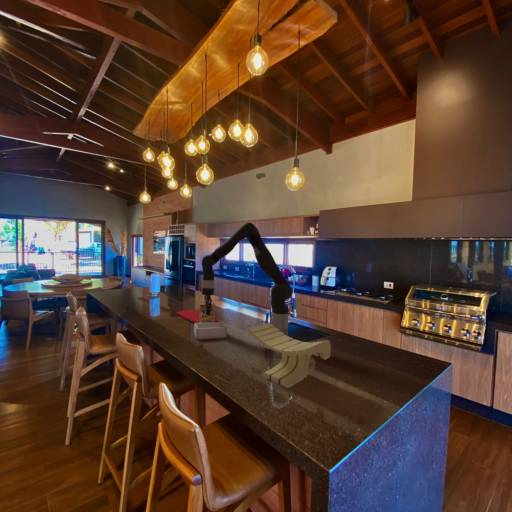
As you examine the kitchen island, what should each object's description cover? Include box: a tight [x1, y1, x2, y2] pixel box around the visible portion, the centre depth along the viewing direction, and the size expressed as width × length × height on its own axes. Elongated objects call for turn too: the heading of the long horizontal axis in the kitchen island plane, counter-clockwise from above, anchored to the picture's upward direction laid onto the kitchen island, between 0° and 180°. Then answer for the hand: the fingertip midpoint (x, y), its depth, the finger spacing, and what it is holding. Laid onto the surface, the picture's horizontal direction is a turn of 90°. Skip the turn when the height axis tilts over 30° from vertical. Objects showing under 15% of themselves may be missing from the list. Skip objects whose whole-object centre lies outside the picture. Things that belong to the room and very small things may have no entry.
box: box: [193, 321, 228, 341], centre depth 161 cm, size 12×17×6 cm
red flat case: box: [175, 309, 221, 324], centre depth 196 cm, size 16×41×4 cm, turn 39°
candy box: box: [199, 302, 216, 323], centre depth 172 cm, size 9×4×15 cm, turn 92°
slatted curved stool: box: [248, 323, 332, 389], centre depth 114 cm, size 30×16×18 cm, turn 47°
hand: (207, 313), depth 172 cm, fingers closed on candy box, 5 cm apart
